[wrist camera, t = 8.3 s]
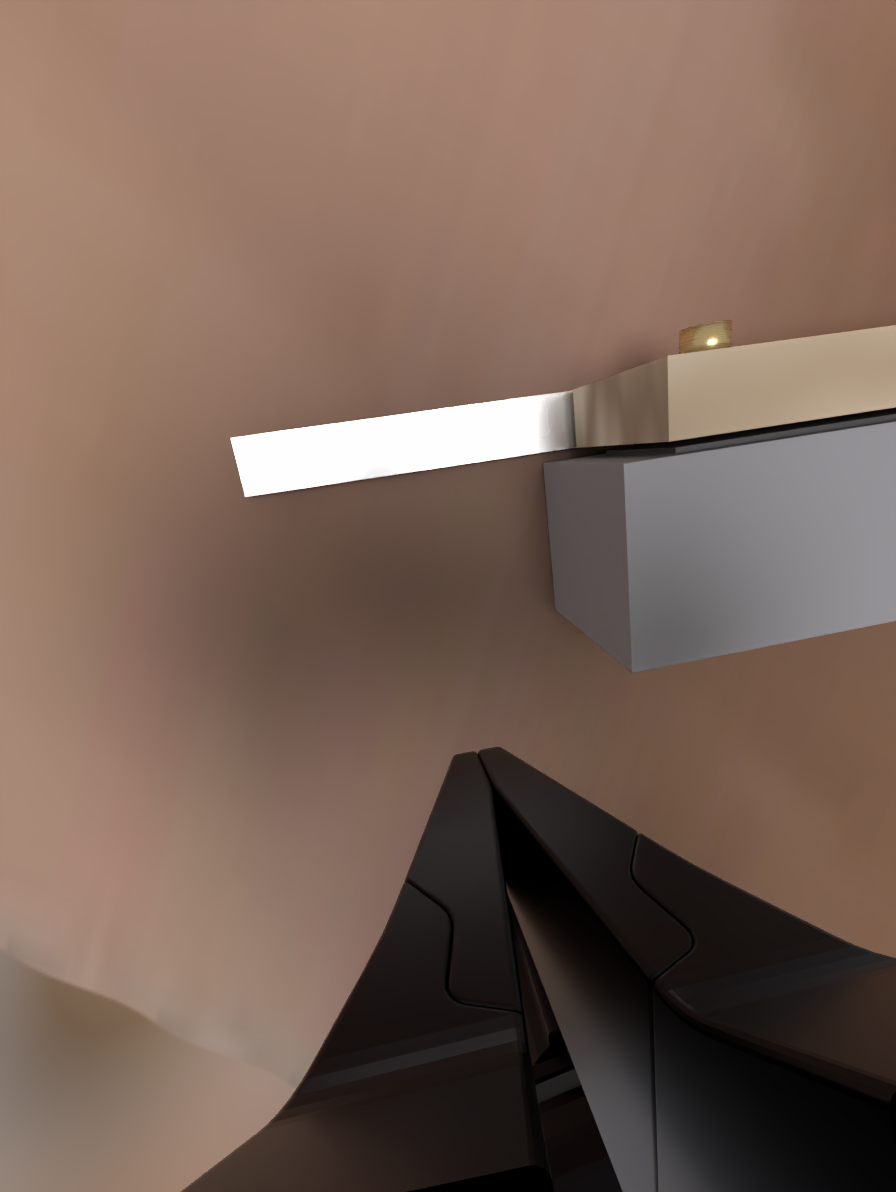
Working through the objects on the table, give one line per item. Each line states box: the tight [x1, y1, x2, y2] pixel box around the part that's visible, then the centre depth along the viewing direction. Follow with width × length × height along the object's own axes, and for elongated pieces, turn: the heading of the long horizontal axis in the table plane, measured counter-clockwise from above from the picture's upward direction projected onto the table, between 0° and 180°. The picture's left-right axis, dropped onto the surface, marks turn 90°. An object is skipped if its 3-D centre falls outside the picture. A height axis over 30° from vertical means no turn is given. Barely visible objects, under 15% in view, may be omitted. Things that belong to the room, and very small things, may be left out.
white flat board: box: [231, 391, 577, 497], centre depth 16 cm, size 2×32×7 cm, turn 98°
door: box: [573, 320, 896, 448], centre depth 16 cm, size 3×18×6 cm, turn 98°
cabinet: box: [543, 407, 896, 673], centre depth 18 cm, size 6×20×6 cm, turn 98°
